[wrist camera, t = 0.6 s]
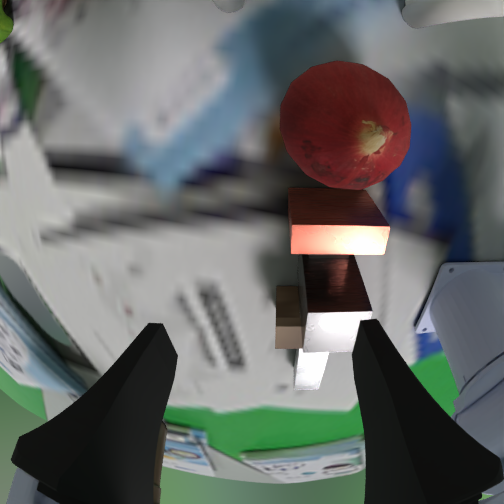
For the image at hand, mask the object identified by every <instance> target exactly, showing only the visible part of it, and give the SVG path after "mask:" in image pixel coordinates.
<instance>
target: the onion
mask: <svg viewBox="0 0 504 504" xmlns="http://www.w3.org/2000/svg"><path fill="white" fill-rule="evenodd" d="M280 131H281V134H282V137H283V141H284V144H285V147H286V150H287V152H288V154H289V155H290V156H291V157H292V159H293V160H294V161H295V162H296V163H297V164H298V166H299V167H300V168H301V169H302V170H303V172H304V173H305V174H306V175H308V176H310V177H312V178H313V179H315V180H317V181H319V182H321V183H323V184H325V185H327V186H328V187H333V188H343V189H354V190H361V189H364V188H366V187H369V186H371V185H373V184H376V183H378V182H381V181H383V180H384V179H385V178H386V177H387V176H388V175H389V174H390V173H391V172H393V171H394V170H395V169H396V168H398V167H399V166H400V165H401V163H402V161H403V159H404V157H405V155H406V153H407V151H408V149H409V146H410V134H411V122H410V117H409V113H408V108H407V104H406V101H405V100H404V98H403V97H402V95H401V94H400V93H399V91H398V90H397V89H396V88H395V86H394V85H393V84H392V83H391V81H390V80H389V79H388V78H386V77H384V76H383V75H381V74H379V73H378V72H376V71H374V70H372V69H371V68H369V67H367V66H365V65H363V64H357V63H351V62H344V61H333V62H329V63H325V64H321V65H317V66H313V67H311V68H309V69H308V70H307V71H306V72H304V73H303V74H302V75H300V76H299V77H298V78H297V79H295V80H294V81H293V82H291V84H290V86H289V88H288V91H287V93H286V95H285V97H284V99H283V101H282V103H281V107H280Z"/></svg>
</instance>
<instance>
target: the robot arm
mask: <svg viewBox="0 0 504 504" xmlns="http://www.w3.org/2000/svg"><path fill="white" fill-rule="evenodd" d="M450 268H451V269H450ZM435 331H436V333H437V335H438V338H439V340H440V343H441V345H442V348H443V350H444V353H445V355H446V358H447V361H448V363H449V366H450V369H451V371H452V374H453V377H454V380H455V383H456V386H457V389H458V392H459V395H460V396H459V397H458V398H457V399H455V400H454V401H453V403H454V407H455V410H456V411H455V412H454V413H453V415H452V416H451V417H450V416H449V415H448V414H447V413H446V412H445V411H444V410H443V409H442V408H441V407H440V405H439V404H438V403H437V402H436V401H435V400H434V399H433V398H432V396H431V395H430V394H429V393H428V392H427V390H426V389H425V388H424V387H423V385H422V384H421V383H420V381H419V380H418V379H417V378H416V376H415V375H414V373H413V372H412V371H411V369H410V368H409V367H408V365H407V364H406V362H405V361H404V359H403V358H402V357H401V355H400V354H399V352H398V351H397V349H396V348H395V346H394V345H393V343H392V342H391V340H390V339H389V337H388V335H387V334H386V332H385V331H384V329H383V327H382V326H381V324H380V323H379V321H378V320H377V319H369V320H360V323H359V328H358V332H357V336H356V340H355V344H354V348H353V352H352V360H353V371H354V380H355V385H356V390H357V395H358V400H359V406H360V411H361V416H362V422H363V428H364V435H365V453H366V484H365V501H364V504H504V262H452V263H444V264H443V265H442V266H441V268H440V270H439V273H438V275H437V278H436V281H435V283H434V286H433V288H432V291H431V293H430V295H429V298H428V300H427V302H426V305H425V307H424V309H423V312H422V314H421V316H420V318H419V320H418V322H417V324H416V327H415V332H416V333H427V332H435ZM177 358H178V355H177V353H176V351H175V349H174V347H173V344H172V342H171V340H170V338H169V336H168V334H167V332H166V329H165V327H164V325H163V324H161V323H148V324H147V326H146V327H145V328H144V329H143V330H142V331H141V332H140V334H139V335H138V336H137V337H136V338H135V340H134V341H133V342H132V343H131V344H130V345H129V347H128V348H127V349H126V350H125V351H124V352H123V354H122V355H121V356H120V357H119V358H118V359H117V361H116V362H115V363H114V364H113V365H112V366H111V367H110V368H109V369H108V371H107V372H106V373H105V374H104V375H103V376H102V377H101V378H100V379H99V380H98V381H97V382H96V383H95V384H94V385H93V386H92V387H91V388H90V389H89V390H88V391H87V392H86V393H85V394H84V395H82V396H81V397H80V398H79V399H78V400H77V401H75V402H74V403H73V404H72V405H70V406H69V407H68V408H66V409H65V410H64V411H63V412H61V413H60V414H58V415H57V416H56V417H54V418H53V419H51V420H50V421H48V422H46V423H45V424H43V425H41V426H40V427H38V428H36V429H34V430H32V431H30V432H29V433H26V434H24V435H22V436H20V437H19V439H18V441H17V444H16V447H15V450H14V452H13V455H12V458H11V461H12V463H13V464H15V465H16V466H17V467H19V468H17V470H16V472H15V476H14V479H13V482H12V485H11V489H10V492H9V496H8V499H7V503H6V504H154V501H153V485H154V467H155V458H156V449H157V442H158V436H159V431H160V426H161V423H162V419H163V416H164V412H165V409H166V405H167V402H168V399H169V395H170V392H171V388H172V385H173V381H174V377H175V371H176V365H177ZM482 493H483V494H488V495H494V496H491V497H489V498H487V499H483V500H480V501H478V500H479V499H481V498H482Z"/></svg>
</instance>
